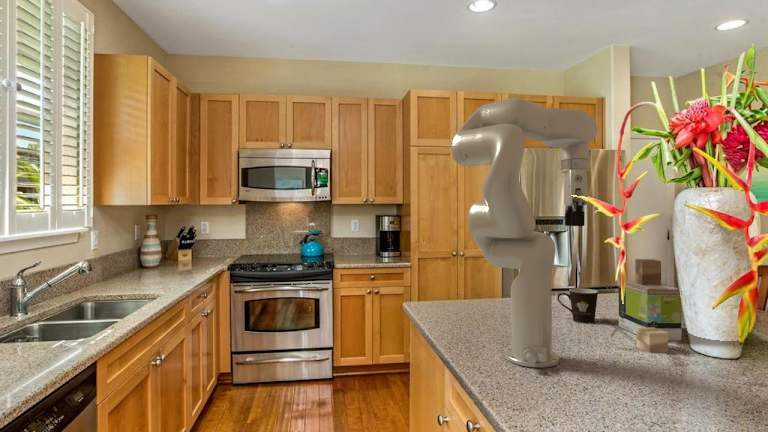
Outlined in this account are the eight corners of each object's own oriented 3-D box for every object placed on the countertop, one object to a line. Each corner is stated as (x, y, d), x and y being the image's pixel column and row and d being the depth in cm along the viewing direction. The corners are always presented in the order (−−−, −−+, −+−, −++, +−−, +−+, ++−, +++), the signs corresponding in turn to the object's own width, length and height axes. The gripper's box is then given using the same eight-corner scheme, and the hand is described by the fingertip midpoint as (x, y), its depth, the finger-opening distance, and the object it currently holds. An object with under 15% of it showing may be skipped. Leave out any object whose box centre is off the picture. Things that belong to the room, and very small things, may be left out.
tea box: (683, 341, 116) (683, 288, 116) (646, 341, 116) (646, 288, 116) (649, 326, 131) (649, 279, 131) (617, 326, 131) (617, 279, 131)
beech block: (668, 352, 107) (667, 332, 107) (649, 352, 107) (649, 333, 107) (654, 345, 112) (653, 327, 112) (636, 346, 112) (636, 327, 112)
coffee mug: (603, 321, 137) (603, 291, 137) (589, 325, 132) (589, 294, 132) (570, 314, 146) (570, 286, 146) (555, 318, 142) (555, 289, 141)
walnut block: (661, 285, 120) (661, 261, 120) (642, 285, 121) (642, 261, 121) (653, 282, 125) (653, 259, 125) (635, 282, 126) (635, 259, 126)
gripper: (596, 162, 112) (596, 226, 111) (581, 170, 129) (581, 225, 128) (566, 163, 113) (566, 226, 113) (555, 170, 130) (555, 225, 130)
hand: (574, 225), depth 121 cm, fingers open, 9 cm apart
